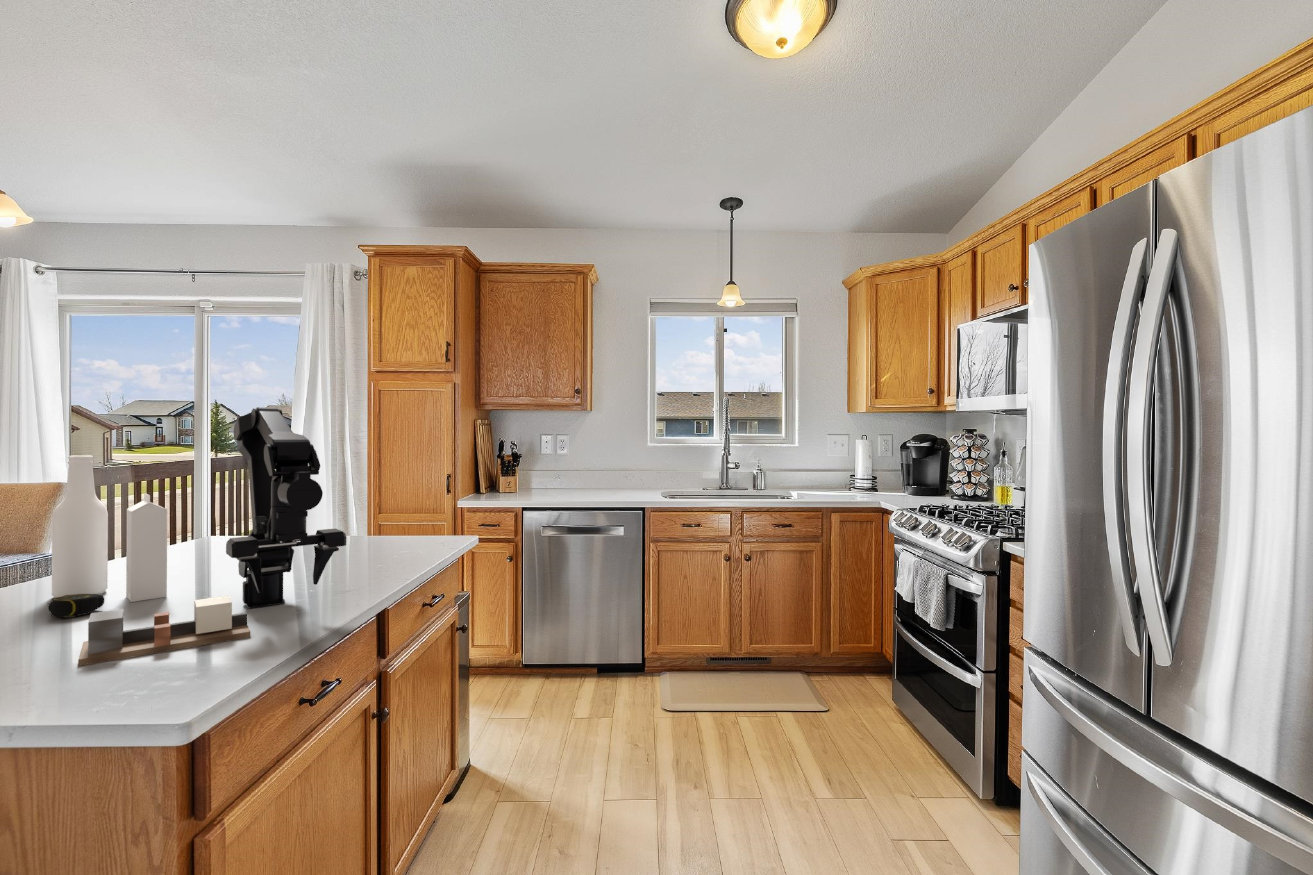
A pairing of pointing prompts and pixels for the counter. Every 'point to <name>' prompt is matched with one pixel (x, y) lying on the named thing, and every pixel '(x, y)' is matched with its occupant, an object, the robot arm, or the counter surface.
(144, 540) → the milk
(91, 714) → the counter surface
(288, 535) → the robot arm
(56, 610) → the tape measure
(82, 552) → the alcohol
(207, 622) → the sleeve
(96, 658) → the board
